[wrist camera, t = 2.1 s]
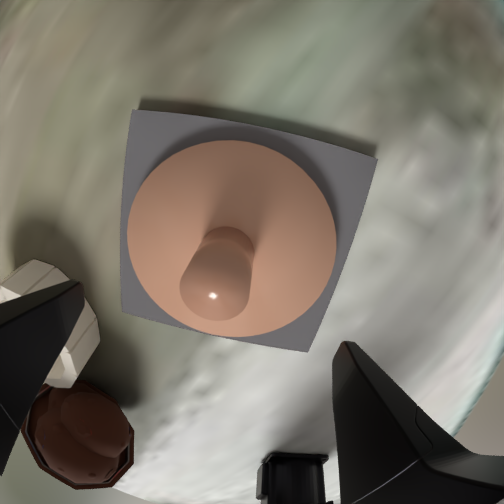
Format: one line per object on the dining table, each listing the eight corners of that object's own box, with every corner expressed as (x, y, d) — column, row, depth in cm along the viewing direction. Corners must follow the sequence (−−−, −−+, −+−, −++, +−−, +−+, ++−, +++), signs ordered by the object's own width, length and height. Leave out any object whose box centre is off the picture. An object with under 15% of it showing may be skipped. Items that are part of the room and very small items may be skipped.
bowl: (92, 278, 16) (59, 312, 13) (106, 368, 20) (86, 402, 16) (8, 249, 16) (-24, 272, 13) (29, 334, 20) (7, 360, 16)
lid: (358, 168, 12) (395, 187, 8) (300, 341, 17) (306, 397, 13) (143, 127, 12) (93, 129, 8) (133, 305, 16) (102, 353, 12)
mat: (373, 157, 13) (377, 159, 12) (306, 346, 18) (307, 352, 17) (137, 109, 12) (132, 109, 12) (125, 306, 17) (122, 311, 17)
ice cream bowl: (51, 384, 25) (55, 330, 18) (127, 433, 27) (171, 405, 20) (14, 448, 16) (-11, 430, 9) (100, 501, 18) (133, 517, 11)
